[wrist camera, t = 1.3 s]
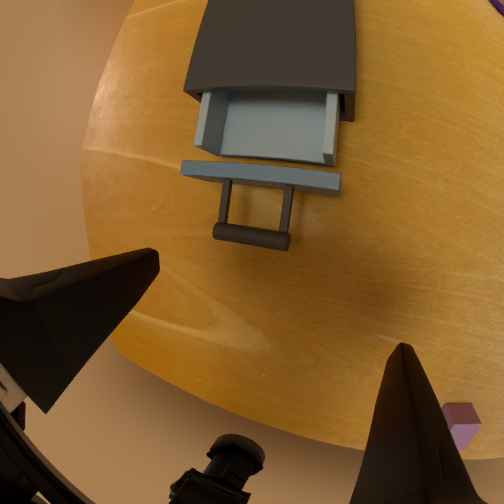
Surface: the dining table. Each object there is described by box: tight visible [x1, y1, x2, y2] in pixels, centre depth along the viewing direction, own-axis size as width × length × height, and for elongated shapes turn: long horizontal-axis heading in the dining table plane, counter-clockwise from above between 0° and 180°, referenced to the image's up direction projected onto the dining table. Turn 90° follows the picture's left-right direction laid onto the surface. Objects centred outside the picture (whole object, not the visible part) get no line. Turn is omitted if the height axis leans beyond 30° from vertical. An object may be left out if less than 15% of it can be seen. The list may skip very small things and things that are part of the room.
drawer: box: [180, 90, 341, 251], centre depth 21 cm, size 23×12×5 cm, turn 172°
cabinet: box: [183, 0, 356, 122], centre depth 19 cm, size 20×14×7 cm
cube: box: [442, 403, 482, 450], centre depth 19 cm, size 4×4×4 cm
